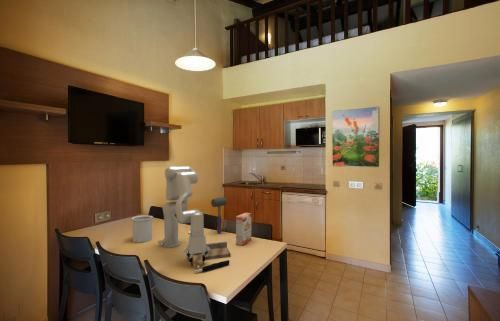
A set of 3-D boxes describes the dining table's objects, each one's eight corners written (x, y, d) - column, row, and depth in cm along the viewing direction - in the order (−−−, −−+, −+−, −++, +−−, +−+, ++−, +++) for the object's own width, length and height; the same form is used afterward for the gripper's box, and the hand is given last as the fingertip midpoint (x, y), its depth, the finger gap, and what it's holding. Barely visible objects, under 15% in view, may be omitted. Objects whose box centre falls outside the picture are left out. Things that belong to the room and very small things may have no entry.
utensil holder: (142, 235, 193) (142, 214, 193) (157, 237, 188) (156, 215, 188) (127, 241, 180) (127, 218, 179) (142, 244, 174) (142, 220, 174)
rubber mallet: (216, 235, 191) (215, 199, 191) (210, 233, 196) (210, 198, 196) (227, 232, 200) (227, 197, 200) (222, 230, 205) (221, 196, 205)
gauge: (194, 271, 131) (193, 258, 131) (192, 263, 141) (192, 251, 141) (203, 270, 132) (202, 257, 132) (201, 261, 143) (201, 250, 143)
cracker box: (243, 246, 168) (242, 217, 168) (235, 244, 170) (235, 216, 170) (251, 240, 180) (251, 212, 180) (245, 238, 183) (244, 212, 183)
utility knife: (194, 275, 126) (194, 270, 126) (192, 272, 130) (192, 267, 129) (230, 265, 138) (230, 260, 138) (227, 263, 141) (226, 258, 141)
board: (188, 262, 142) (188, 253, 142) (187, 253, 156) (187, 245, 156) (230, 256, 150) (230, 248, 150) (226, 248, 163) (226, 241, 163)
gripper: (182, 236, 133) (182, 268, 133) (212, 233, 138) (213, 263, 138) (182, 232, 140) (182, 262, 140) (211, 229, 145) (211, 258, 145)
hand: (197, 263), depth 139 cm, fingers open, 6 cm apart
